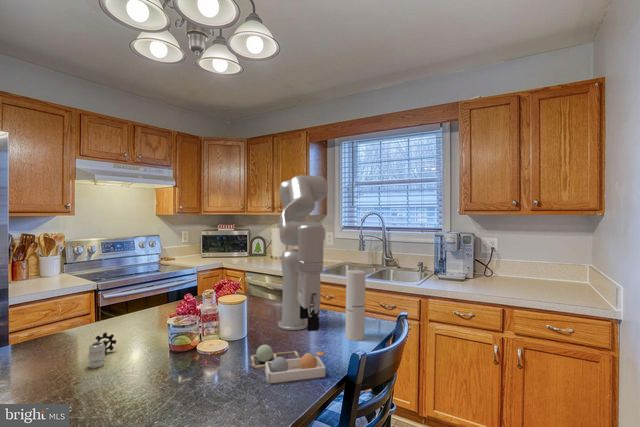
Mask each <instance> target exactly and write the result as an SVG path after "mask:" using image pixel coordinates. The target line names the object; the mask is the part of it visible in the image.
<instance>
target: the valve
mask: <svg viewBox="0 0 640 427" xmlns="http://www.w3.org/2000/svg"><path fill="white" fill-rule="evenodd" d="M114 337H115V335H114V334H110V335H108V333H107V332H103V333H102V336H100V335H96V336H95V338H94V339H95V340H97V341H94V342H93V343H90V344H89V348H88V355H87V359H88V361H89V362H88V368H89V369H98V368H100V367H103V365H104V362H105V361H104V360H105V355H106V353H107V352H108V351H107V350H109V351H113V350H114V348H115V347H114V346H113V345H116V343H117V340H116V339H113V338H114ZM102 339H106V340H102ZM107 339H108V340H107ZM109 343H110V344H109ZM97 367H98V368H97Z"/></svg>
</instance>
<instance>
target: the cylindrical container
mask: <svg viewBox="0 0 640 427" xmlns="http://www.w3.org/2000/svg"><path fill="white" fill-rule="evenodd" d="M366 274H367V273H366V271H365V270H362V269H361V270H360V269H348V270H347V271H346V280H345V281H346V283H345V285H346V286H345V288H346V290H345V291H346V294H345V328H344V329H345V331H344V332H345V339H346V340H349V341H353V342H360V341H363V340H364V339H365V321H366V320H365V318H366V317H365V316H366V315H365V314H366Z"/></svg>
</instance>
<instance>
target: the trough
mask: <svg viewBox="0 0 640 427" xmlns="http://www.w3.org/2000/svg"><path fill="white" fill-rule="evenodd" d="M314 357H315V358H316V361H317V366H316V368H310V369H301V367H300V360H301V358H302V357H300V358H297V357H296V358H287V359H286V360H287V362H288V370H287V371H284V372H275V373H272V371H271V363H272V361H273V360H271V361H270V360H269V361H267V362H264V364H265V367H264V371H265V376H266V380H267V384H270V385H271V384H276V383H278V384H279V383H284V382H292V381H293V382H294V381H300V380H302V381H303V380H309V379H317V378H324V377H326V366H325V365H324V363H323V361H322V360H321V358H320V357H319V356H318V355H316V356H314Z"/></svg>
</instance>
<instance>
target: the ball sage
mask: <svg viewBox="0 0 640 427" xmlns="http://www.w3.org/2000/svg"><path fill="white" fill-rule="evenodd" d="M273 353H274V351H273V349H272V347H271V346H270V345H268V344H261V345H260V346H259V347H258V348H257V349H256V353H255V355H256V356H257V357H256V358H257V360H258V361H259V362H262V363H265V362H268V361H270V360H271V359H272V357H273V356H272V354H273Z"/></svg>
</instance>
